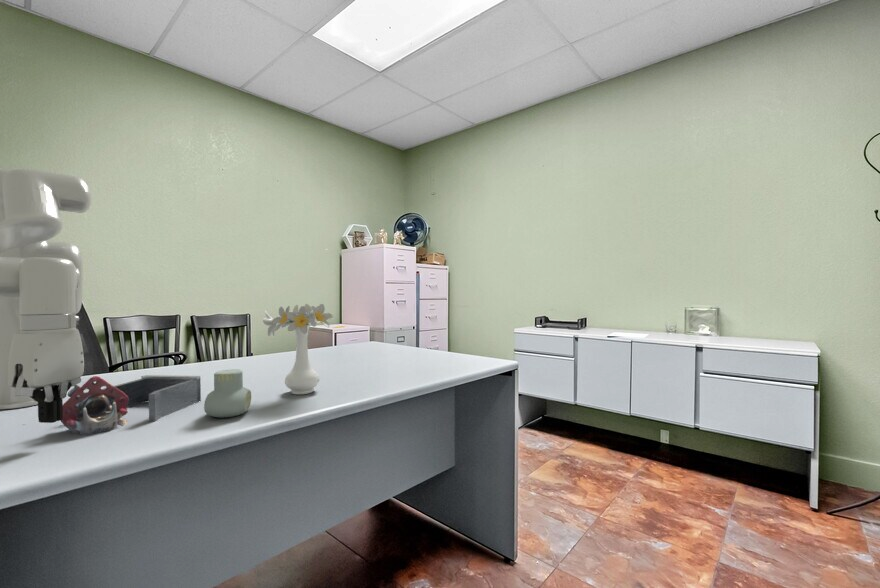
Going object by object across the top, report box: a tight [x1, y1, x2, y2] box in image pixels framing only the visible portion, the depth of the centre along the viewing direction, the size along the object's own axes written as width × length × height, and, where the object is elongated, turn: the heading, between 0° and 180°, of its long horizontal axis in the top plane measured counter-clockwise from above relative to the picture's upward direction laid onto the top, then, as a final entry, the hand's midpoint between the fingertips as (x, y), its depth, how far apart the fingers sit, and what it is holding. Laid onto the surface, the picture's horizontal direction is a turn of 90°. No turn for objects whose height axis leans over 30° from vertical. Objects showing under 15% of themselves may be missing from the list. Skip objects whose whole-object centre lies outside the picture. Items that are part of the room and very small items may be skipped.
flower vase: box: [262, 303, 334, 396], centre depth 112 cm, size 13×18×25 cm
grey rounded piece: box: [203, 368, 252, 419], centre depth 93 cm, size 11×8×10 cm
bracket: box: [85, 374, 202, 422], centre depth 97 cm, size 17×16×7 cm
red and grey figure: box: [60, 375, 129, 436], centre depth 85 cm, size 11×11×12 cm
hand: (50, 421), depth 75 cm, fingers closed
